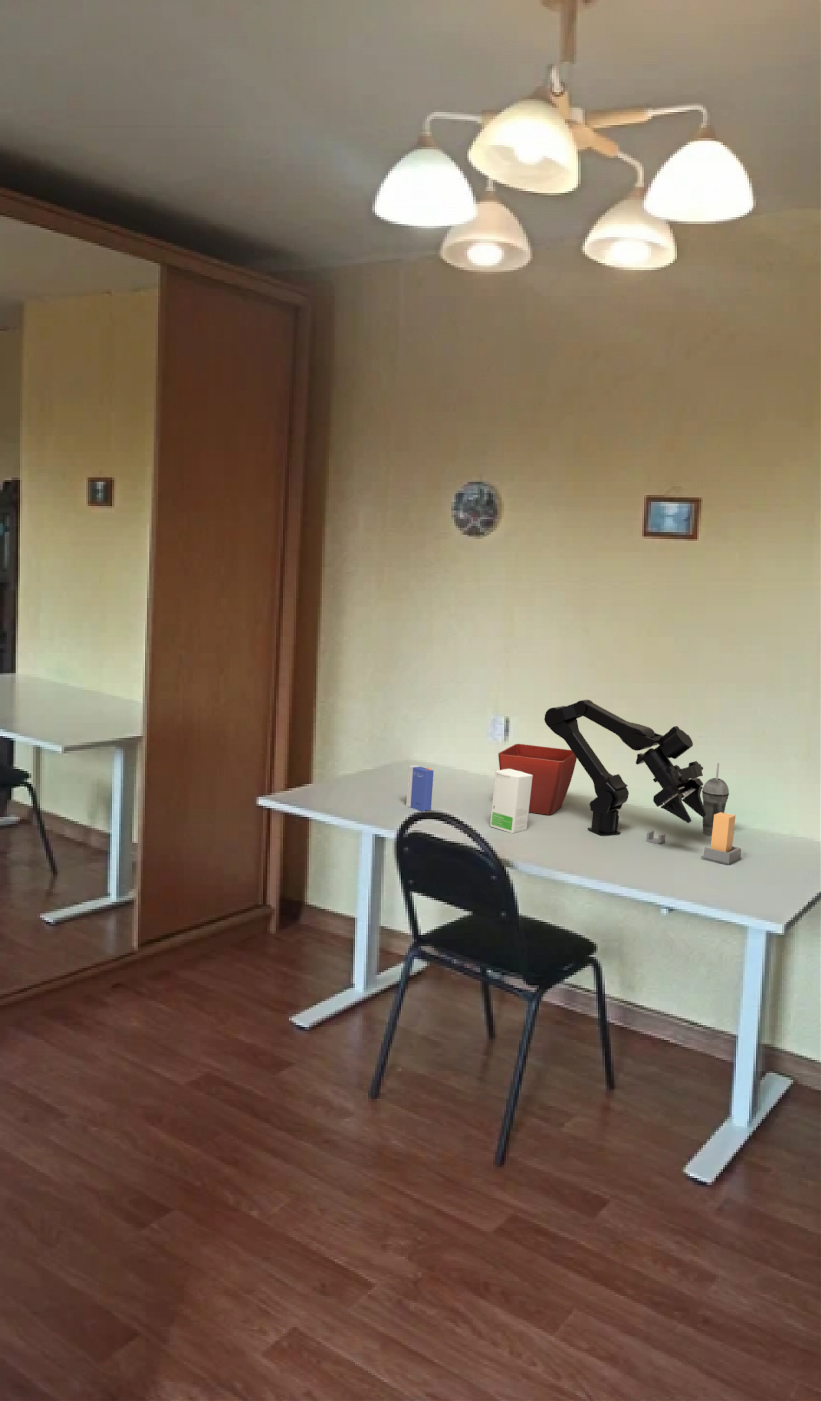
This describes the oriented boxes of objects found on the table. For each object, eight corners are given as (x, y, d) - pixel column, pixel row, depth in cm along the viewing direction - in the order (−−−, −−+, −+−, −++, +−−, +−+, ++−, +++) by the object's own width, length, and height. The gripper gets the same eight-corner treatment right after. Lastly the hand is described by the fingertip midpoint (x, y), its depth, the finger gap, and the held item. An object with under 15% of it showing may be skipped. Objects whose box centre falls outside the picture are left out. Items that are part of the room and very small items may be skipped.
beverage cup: (725, 832, 313) (733, 762, 310) (724, 838, 306) (731, 766, 303) (698, 828, 315) (706, 758, 312) (696, 834, 308) (703, 763, 305)
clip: (660, 844, 295) (660, 835, 295) (646, 841, 298) (647, 832, 297) (665, 842, 298) (665, 833, 297) (651, 839, 300) (652, 830, 300)
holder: (700, 858, 284) (701, 847, 284) (712, 853, 290) (713, 842, 289) (728, 865, 280) (729, 853, 279) (739, 859, 285) (741, 848, 285)
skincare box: (489, 827, 303) (493, 770, 300) (504, 823, 308) (508, 767, 305) (513, 833, 297) (518, 776, 295) (529, 830, 302) (533, 773, 300)
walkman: (431, 810, 317) (433, 769, 315) (423, 811, 315) (426, 770, 313) (413, 804, 323) (416, 763, 321) (405, 805, 321) (408, 764, 319)
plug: (709, 856, 284) (713, 814, 283) (716, 853, 288) (720, 812, 286) (724, 860, 282) (729, 817, 280) (731, 857, 285) (735, 815, 283)
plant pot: (492, 810, 322) (497, 752, 320) (512, 797, 340) (516, 742, 337) (557, 820, 315) (562, 761, 313) (574, 806, 333) (579, 750, 330)
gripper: (669, 755, 281) (706, 807, 276) (700, 747, 296) (735, 797, 291) (637, 780, 287) (673, 831, 282) (669, 770, 302) (703, 819, 297)
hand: (697, 819), depth 288 cm, fingers open, 9 cm apart
